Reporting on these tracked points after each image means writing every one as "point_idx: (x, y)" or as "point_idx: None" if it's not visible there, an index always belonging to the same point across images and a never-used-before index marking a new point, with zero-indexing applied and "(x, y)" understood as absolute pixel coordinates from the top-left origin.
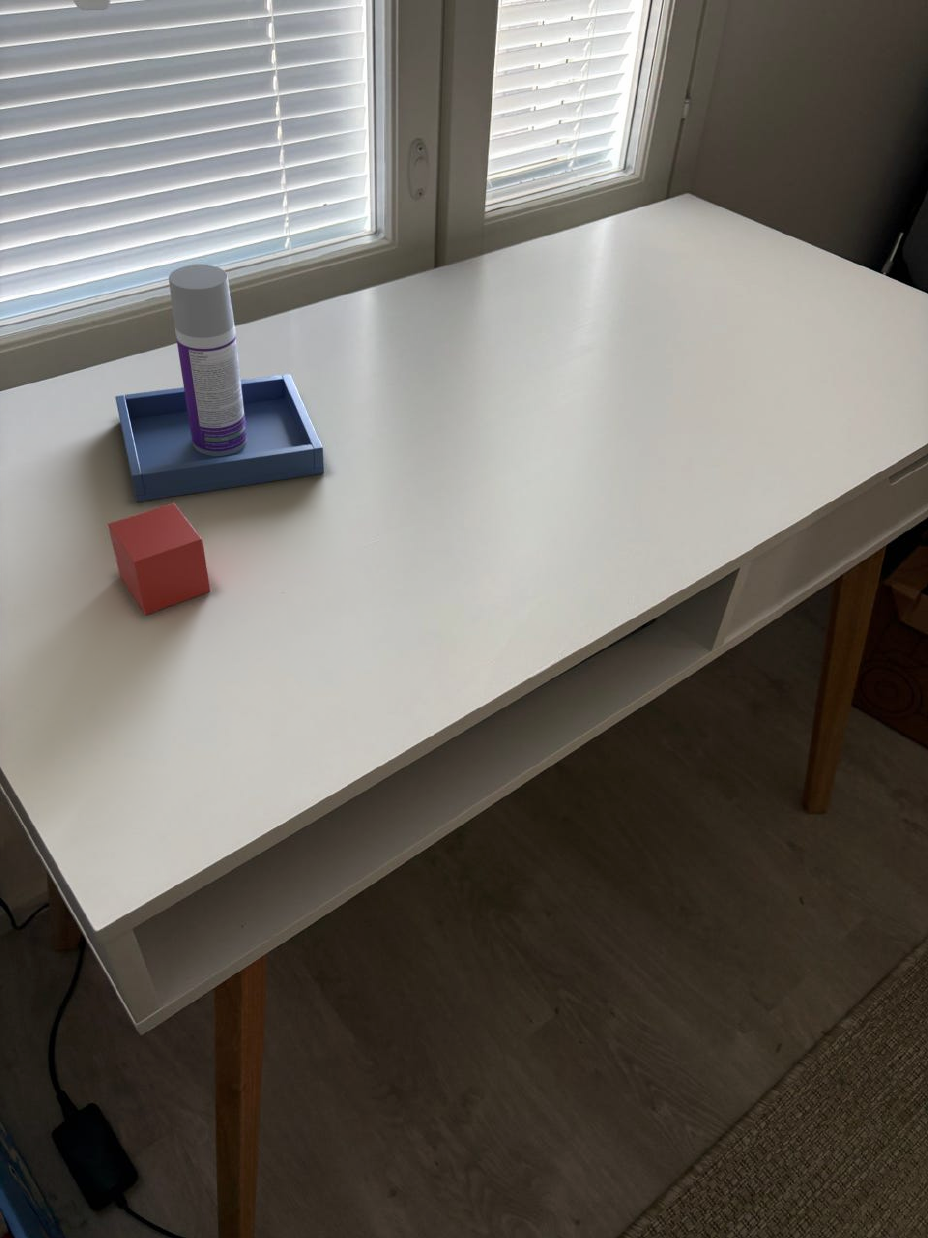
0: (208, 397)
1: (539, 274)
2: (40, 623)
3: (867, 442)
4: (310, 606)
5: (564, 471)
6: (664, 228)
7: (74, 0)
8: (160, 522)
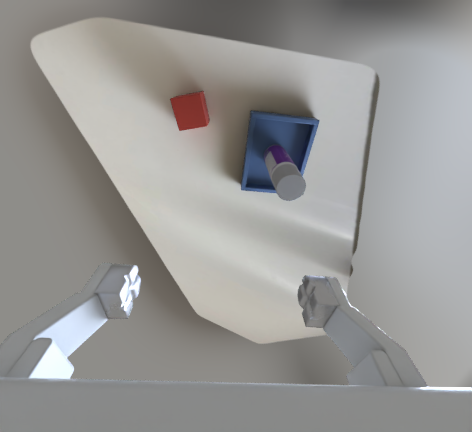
0: (268, 161)
1: None
2: (182, 47)
3: (201, 307)
4: (168, 156)
5: (214, 247)
6: None
7: (98, 266)
8: (194, 116)
